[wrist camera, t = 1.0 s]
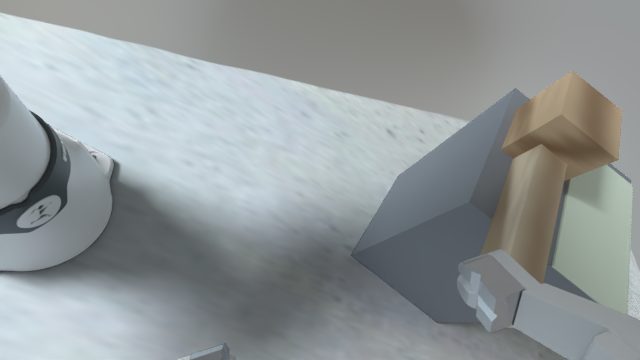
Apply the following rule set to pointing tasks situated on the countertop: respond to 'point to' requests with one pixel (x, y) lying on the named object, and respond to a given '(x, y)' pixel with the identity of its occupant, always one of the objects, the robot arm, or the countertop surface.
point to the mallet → (549, 165)
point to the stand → (476, 216)
